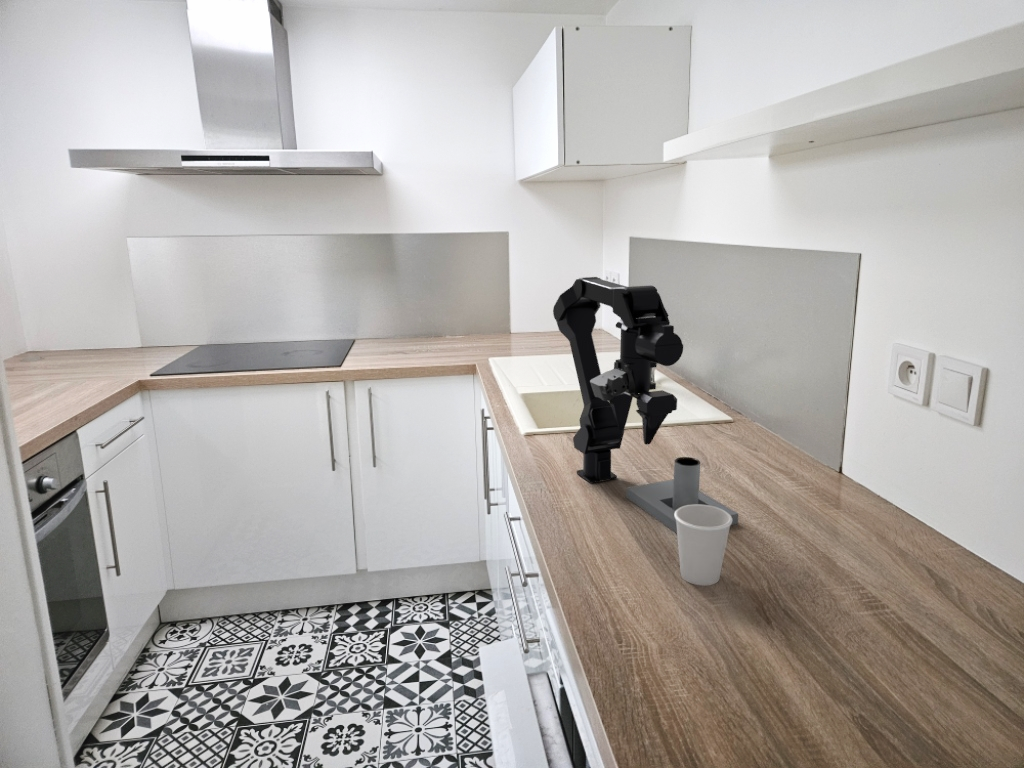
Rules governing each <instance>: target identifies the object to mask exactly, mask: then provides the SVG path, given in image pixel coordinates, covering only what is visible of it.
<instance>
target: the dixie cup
mask: <svg viewBox="0 0 1024 768" xmlns="http://www.w3.org/2000/svg"><path fill="white" fill-rule="evenodd" d="M674 516H675V519H676V524H677V533H676V534H677V536H676V537H677V542H678V543H677V547H678V560H679V568H680V576H681V579H683V580H684V581H685V582H687V583H690V584H692V585H695V586H701V587H702V586H705V587H706V586H712V585H714V584H717V583H718V582H719V580H720V577H721V572H722V567H723V561H724V556H725V554H726V553H725V551H726V546H727V542H728V538H729V533H730V528H731V526H732V525H731V524H732V517H731V516H730V514H729V513H727V512H726V511H724V510H722V509H720V508H717V507H714V506H709V505H701V504H693V505H686V506H683V507H680V508H679V509H677V510H676V511H675V513H674ZM730 525H731V526H730Z"/></svg>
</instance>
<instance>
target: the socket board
mask: <svg viewBox="0 0 1024 768" xmlns="http://www.w3.org/2000/svg"><path fill="white" fill-rule="evenodd" d="M673 484H674V478H673V479H668V480H661V481H655V482H651V483H650V482H649V483H645V484H639V485H634V486H628V487H626V493H625V498H627V499H628V500H629V501H630V502H632V503H634V504H635V505H636V506H637V507H639V508H641V509H642V510H643V511H645V512H646V513H647V514H649V515H650V516H652V517H653V518H655V519H656V520H657V521H659V522H660V523H661V524H663V525H664V526H665V527H667V528H668V529H670V530H671V531H672V532H674V533H675V534H677V524H676V519H675V516H674V513H675V510H673V509H672V506H673ZM698 504H701V505H709V506H714V507H717V508H720V509H722V510H724V511H726V512H727V513H729V514H730V516H731V517H732V524H731V525H730V527H731V526H734V525H738V524H739V512H737V511H735V510H733V509H731V508H729V506H727V505H725V504H723V503H722V502H719V501H718V500H716V499H714V498H713V497H711V496H709V495H707V494H706V493H704V492H702V491H701V490H699V499H698Z"/></svg>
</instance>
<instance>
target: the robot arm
mask: <svg viewBox="0 0 1024 768" xmlns="http://www.w3.org/2000/svg"><path fill="white" fill-rule="evenodd" d="M601 304H602V305H605V306H609V307H610V308H612V313H613V314H614V315H616V316H617V317H618V318H620V319H619V320H618V321H617V322H616V324H615V328H617V329H620V349H619V352H620V354H619V355H620V356H619V358H618V359H615V361H614V363H613V369H611V370H607V371H605V372H603V373H602V372H601V368H600V364H599V359H598V356H597V352H596V347H595V341H594V339H593V331H594V329H595V325H596V323H597V318H596V315H597V312H598V311H599V309H600V308H601ZM552 308H553V310H552V312H553V313H552V315H553V318H554V320H555V321H556V324H557V328H558V331H559V332H560V333H561V335H563V336H564V338H566V339H567V341H568V342H569V346H570V350H571V354H572V358H573V363H574V367H575V373H576V377H577V381H578V385H579V390H580V393H581V398H582V402H583V408H582V412H581V414H580V417H579V427H580V428H579V429H578V430H577V432H576V433H575V434H574V436H573V437H572V440H573V446H574V449H576V450H578V452H580V453H581V454H583V459H582V469H579V470H576V474H577V475H579V476H580V478H583V479H584V480H586V482H587V483H590V484H593V483H599V482H605V481H609V480H611V481H612V480H616V479H618V475H617V474H616V473H613V472H612V450H616V449H617V450H619V449H621V445H622V442H623V440H624V439H623V438H624V433H625V428H626V425H627V421H628V418H629V413H630V409H631V406H632V402H633V398H634V399H636V406H637V409H636V410H635V412H636V413H637V414H638V415H639V416H640V417H641V419H642V421H641V422H642V435H643V437H642V439H643V443H644V445H646V446H647V445H650V444H652V442H653V440H654V438H655V436H656V435H657V433H658V431H659V429H660V427H661V425H662V424H663V422H664V421H665V420H666V418H667V417H668V415H669V414H672V413H673V411H677V409H678V398H677V397H676V395H674V394H672V393H671V392H668V391H665V390H663V389H662V390H656V389H657V387H656V386H657V384H656V383H655V382H652V368H653V369H654V368H657V364H658V365H661V366H664V367H671V366H673V365H675V364H676V363H677V362H678V361H679V360H680V359H681V357H682V355H683V351H684V344H683V341H682V338H681V337H680V336H679V335H678V334H677V333H675V332H674V331H675V330H674V329H675V328H674V327H675V326H674V325H673V324H671V322H670V320H669V319H670V318H669V313H668V312H667V309H666V307H665V306H664V303H663V300H662V297H661V295H660V293H659V292H658V289H657V288H656V287H655V286H654V285H636V286H634V285H632V286H625V285H623V284H620V283H619V284H618V283H614V282H611V281H609V280H605V279H602V278H601V277H597V276H588V277H587V276H586V277H579V278H578V279H575V280H574V282H573V284H572V286H570V287H569V288H568V289H566V290H564V291H563V292H562V293H560V295H559V296H558V298H557V300H556V302H555V303H554V306H553V307H552ZM651 390H653V391H651ZM654 390H655V391H654Z"/></svg>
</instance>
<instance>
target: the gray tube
mask: <svg viewBox="0 0 1024 768" xmlns="http://www.w3.org/2000/svg"><path fill="white" fill-rule="evenodd" d="M673 464H674V466H673V479H674V484H673V506H672V509H673V510H675V511H676V510H677V509H679V508H680V507H683V506H686V505H693V504H698V499H699V491H700V482H701V481H700V478H701V477H700V476H701V460H699V459H697V458H695V457H689V456H681V457H677V458H675V459H674V463H673Z"/></svg>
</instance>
